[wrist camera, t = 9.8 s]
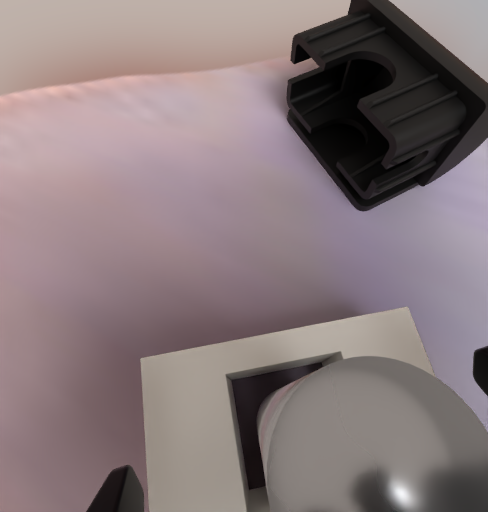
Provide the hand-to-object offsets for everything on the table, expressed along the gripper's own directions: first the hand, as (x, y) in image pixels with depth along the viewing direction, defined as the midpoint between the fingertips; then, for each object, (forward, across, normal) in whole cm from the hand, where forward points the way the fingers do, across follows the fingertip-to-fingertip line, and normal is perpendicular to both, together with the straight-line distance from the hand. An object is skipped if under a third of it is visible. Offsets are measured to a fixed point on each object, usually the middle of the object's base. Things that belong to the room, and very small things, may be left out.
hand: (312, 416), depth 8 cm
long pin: (+6, 0, +6) cm, 8 cm away
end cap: (+16, -10, -4) cm, 19 cm away
